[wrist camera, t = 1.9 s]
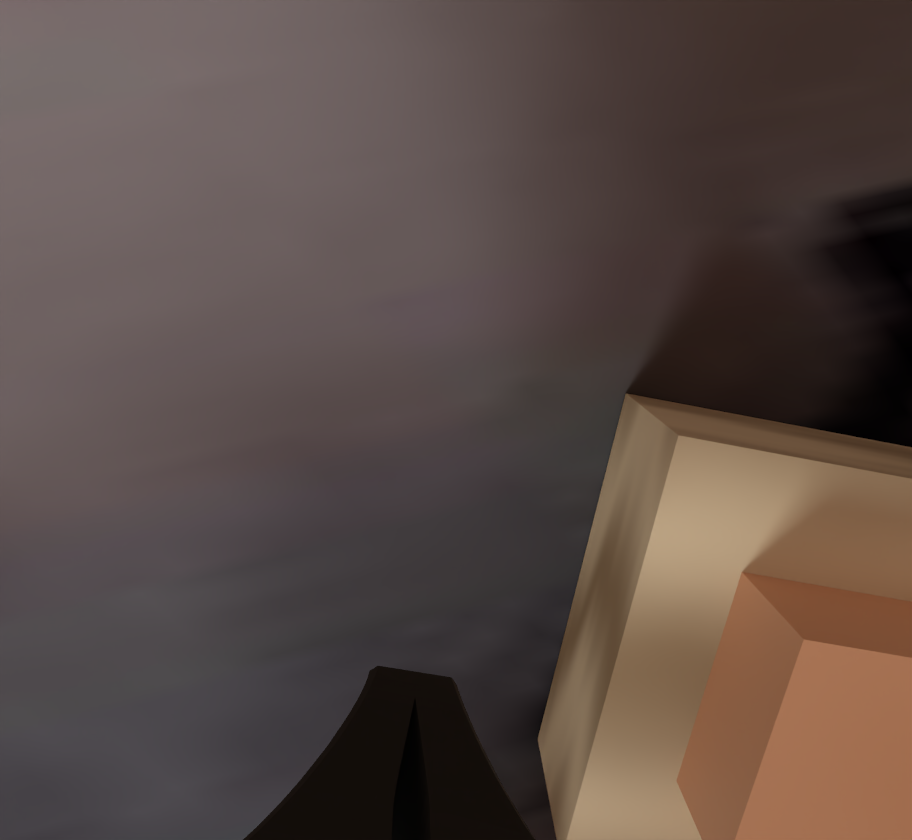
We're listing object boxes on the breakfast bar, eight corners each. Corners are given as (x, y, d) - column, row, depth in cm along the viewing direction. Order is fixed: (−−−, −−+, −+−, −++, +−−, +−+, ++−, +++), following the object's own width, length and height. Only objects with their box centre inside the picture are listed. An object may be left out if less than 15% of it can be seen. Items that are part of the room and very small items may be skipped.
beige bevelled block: (844, 787, 20) (940, 916, 16) (537, 739, 20) (560, 861, 16) (969, 458, 18) (1116, 517, 14) (625, 393, 17) (678, 435, 13)
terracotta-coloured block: (894, 814, 16) (978, 919, 13) (676, 780, 15) (720, 881, 13) (976, 613, 14) (1083, 687, 12) (741, 571, 14) (804, 639, 12)
